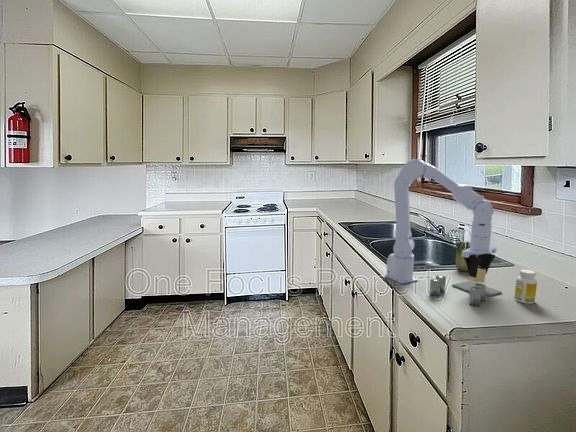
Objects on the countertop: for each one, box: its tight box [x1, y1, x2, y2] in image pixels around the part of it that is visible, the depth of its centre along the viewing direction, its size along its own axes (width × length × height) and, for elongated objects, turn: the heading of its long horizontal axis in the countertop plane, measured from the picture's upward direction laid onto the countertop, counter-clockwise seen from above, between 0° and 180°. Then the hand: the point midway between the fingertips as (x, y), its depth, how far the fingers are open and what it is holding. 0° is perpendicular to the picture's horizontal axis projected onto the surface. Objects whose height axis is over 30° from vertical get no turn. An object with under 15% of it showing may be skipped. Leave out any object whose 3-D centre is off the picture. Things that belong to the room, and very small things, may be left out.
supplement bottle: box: [513, 269, 538, 305], centre depth 110 cm, size 5×5×10 cm
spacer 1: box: [429, 278, 441, 298], centre depth 115 cm, size 3×3×5 cm
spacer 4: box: [475, 282, 487, 303], centre depth 111 cm, size 3×3×5 cm
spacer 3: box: [468, 287, 481, 308], centre depth 107 cm, size 3×3×5 cm
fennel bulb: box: [454, 241, 471, 272], centre depth 141 cm, size 6×5×12 cm
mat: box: [451, 280, 503, 298], centre depth 120 cm, size 12×9×1 cm
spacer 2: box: [435, 274, 447, 293], centre depth 119 cm, size 3×3×5 cm
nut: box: [468, 266, 487, 283], centre depth 119 cm, size 5×4×4 cm
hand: (477, 275), depth 120 cm, fingers closed on nut, 4 cm apart
